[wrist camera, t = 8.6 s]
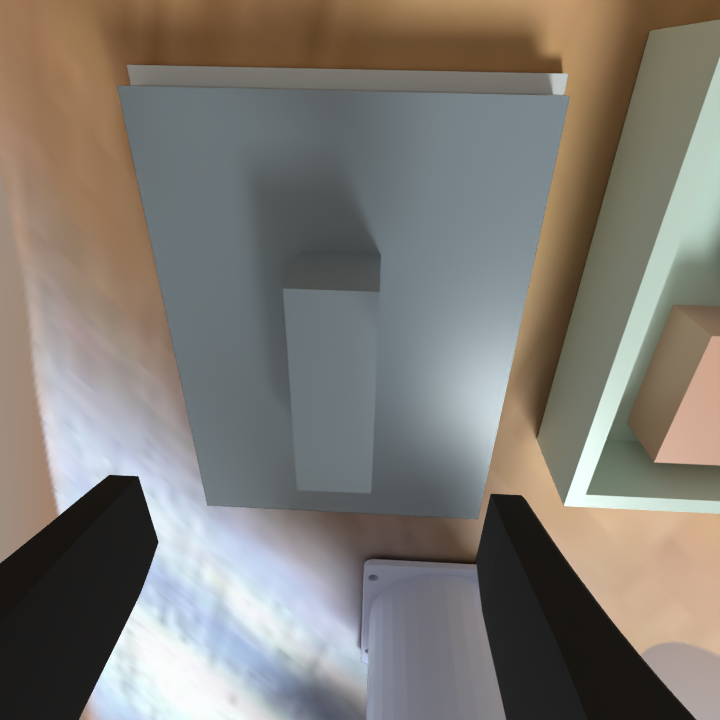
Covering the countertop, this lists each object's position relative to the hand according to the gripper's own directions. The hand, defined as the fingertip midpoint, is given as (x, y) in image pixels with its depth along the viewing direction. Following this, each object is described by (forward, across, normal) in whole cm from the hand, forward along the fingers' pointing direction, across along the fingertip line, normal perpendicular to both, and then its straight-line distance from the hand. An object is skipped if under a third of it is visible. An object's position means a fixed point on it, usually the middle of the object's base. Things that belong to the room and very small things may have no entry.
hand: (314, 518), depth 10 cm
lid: (+8, 0, 0) cm, 8 cm away
